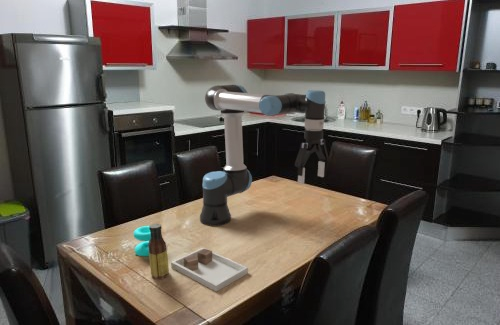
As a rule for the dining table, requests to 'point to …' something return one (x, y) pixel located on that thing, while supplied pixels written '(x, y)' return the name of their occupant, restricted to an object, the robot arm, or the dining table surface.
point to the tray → (212, 271)
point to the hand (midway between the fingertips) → (311, 179)
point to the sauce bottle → (158, 253)
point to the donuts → (142, 235)
